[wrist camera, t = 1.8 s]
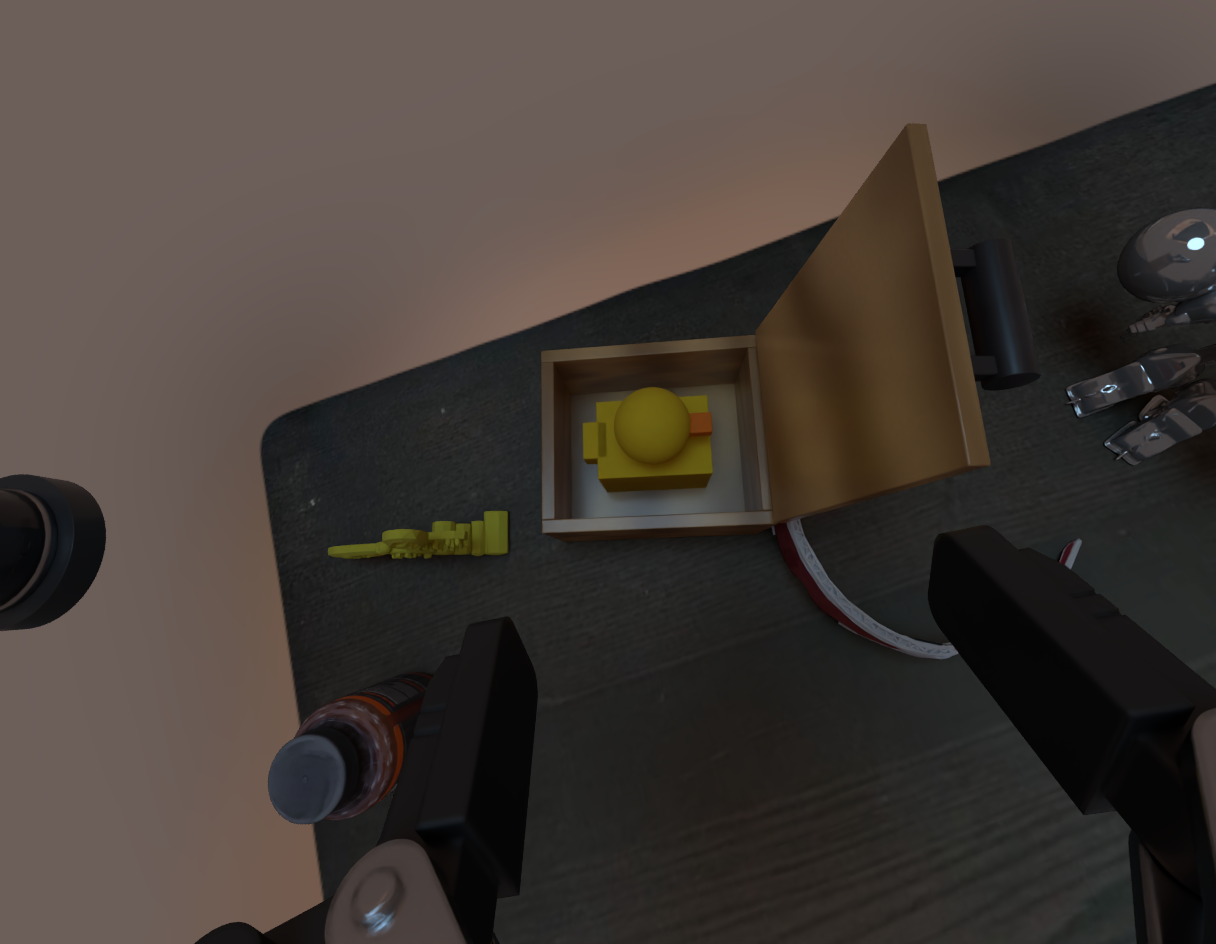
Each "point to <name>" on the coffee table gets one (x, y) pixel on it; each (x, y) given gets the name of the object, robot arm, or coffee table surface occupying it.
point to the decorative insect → (437, 540)
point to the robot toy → (1162, 273)
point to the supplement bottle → (347, 752)
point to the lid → (888, 346)
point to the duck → (651, 442)
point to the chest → (595, 514)
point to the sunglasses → (847, 613)
